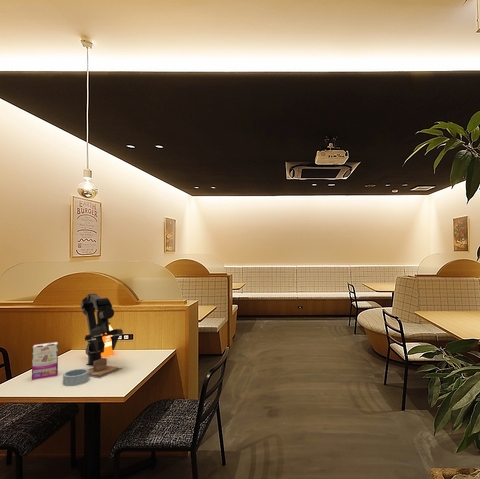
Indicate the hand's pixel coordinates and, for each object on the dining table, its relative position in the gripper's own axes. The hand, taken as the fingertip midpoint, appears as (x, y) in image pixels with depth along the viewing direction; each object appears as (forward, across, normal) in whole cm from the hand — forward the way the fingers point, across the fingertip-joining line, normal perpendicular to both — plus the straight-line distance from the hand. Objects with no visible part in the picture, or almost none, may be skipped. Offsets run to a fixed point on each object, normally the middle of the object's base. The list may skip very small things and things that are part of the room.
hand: (104, 351), depth 169 cm
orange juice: (+2, -19, +31) cm, 37 cm away
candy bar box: (+7, -29, -8) cm, 30 cm away
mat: (+10, -5, +2) cm, 11 cm away
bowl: (+12, -9, -12) cm, 19 cm away
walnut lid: (+9, -5, +2) cm, 11 cm away
